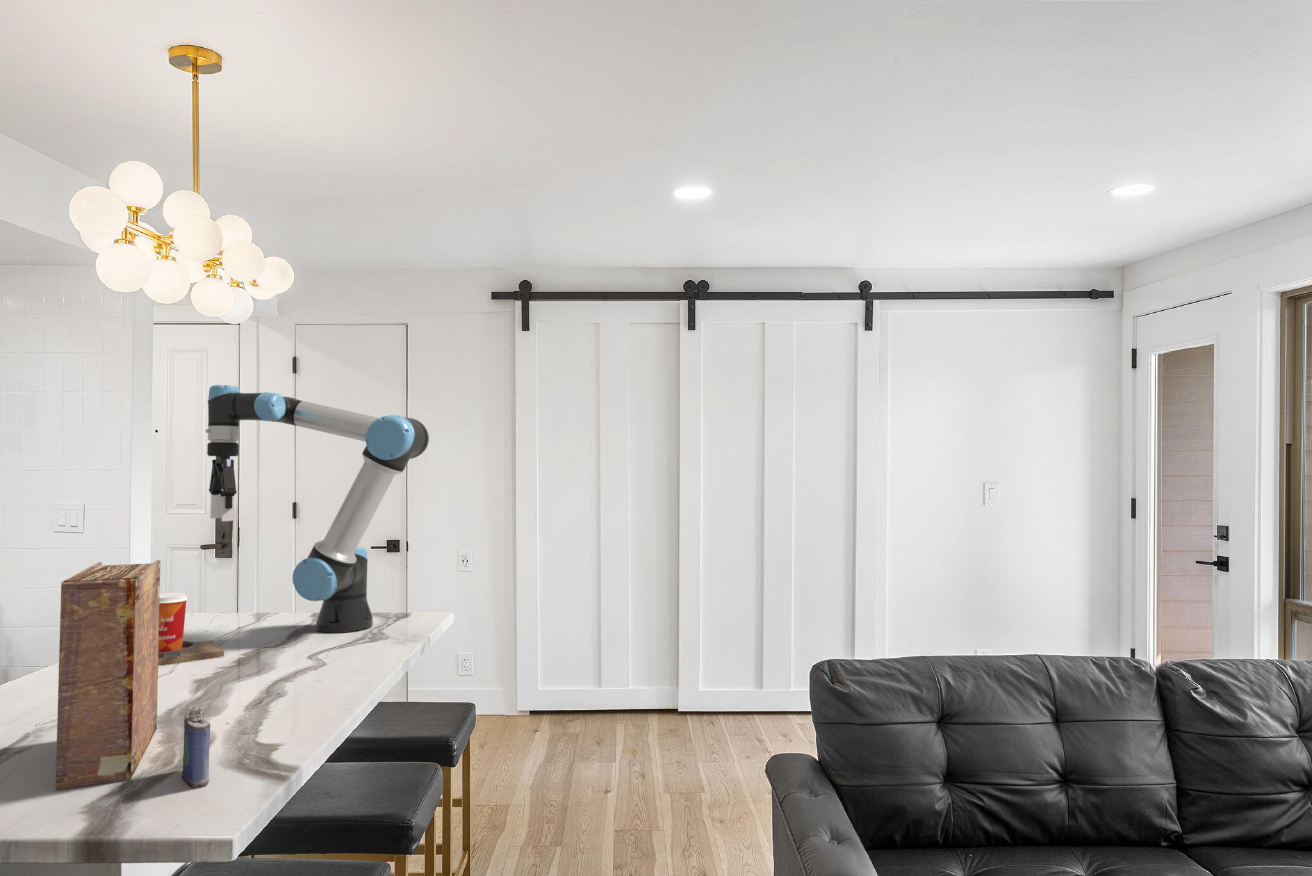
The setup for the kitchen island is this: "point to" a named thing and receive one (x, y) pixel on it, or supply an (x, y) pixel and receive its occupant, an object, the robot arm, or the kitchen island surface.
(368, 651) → the kitchen island surface
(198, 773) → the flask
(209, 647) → the seat board
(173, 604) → the paper cup
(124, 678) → the book
